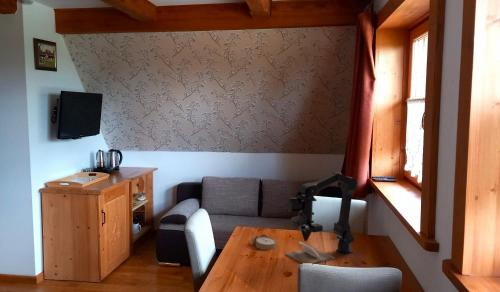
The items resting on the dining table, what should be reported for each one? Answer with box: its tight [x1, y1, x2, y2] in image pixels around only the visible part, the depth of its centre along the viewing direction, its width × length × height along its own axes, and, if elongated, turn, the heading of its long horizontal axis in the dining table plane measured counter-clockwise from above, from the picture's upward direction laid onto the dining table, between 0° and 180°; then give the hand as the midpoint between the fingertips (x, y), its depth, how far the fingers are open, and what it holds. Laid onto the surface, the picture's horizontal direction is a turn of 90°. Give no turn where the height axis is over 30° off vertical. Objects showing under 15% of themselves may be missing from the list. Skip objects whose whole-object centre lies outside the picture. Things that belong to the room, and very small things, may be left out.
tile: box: [298, 240, 320, 257], centre depth 194 cm, size 7×10×1 cm
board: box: [285, 247, 335, 265], centre depth 195 cm, size 18×16×1 cm
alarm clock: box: [251, 234, 279, 251], centre depth 211 cm, size 11×5×15 cm
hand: (305, 240), depth 192 cm, fingers closed
